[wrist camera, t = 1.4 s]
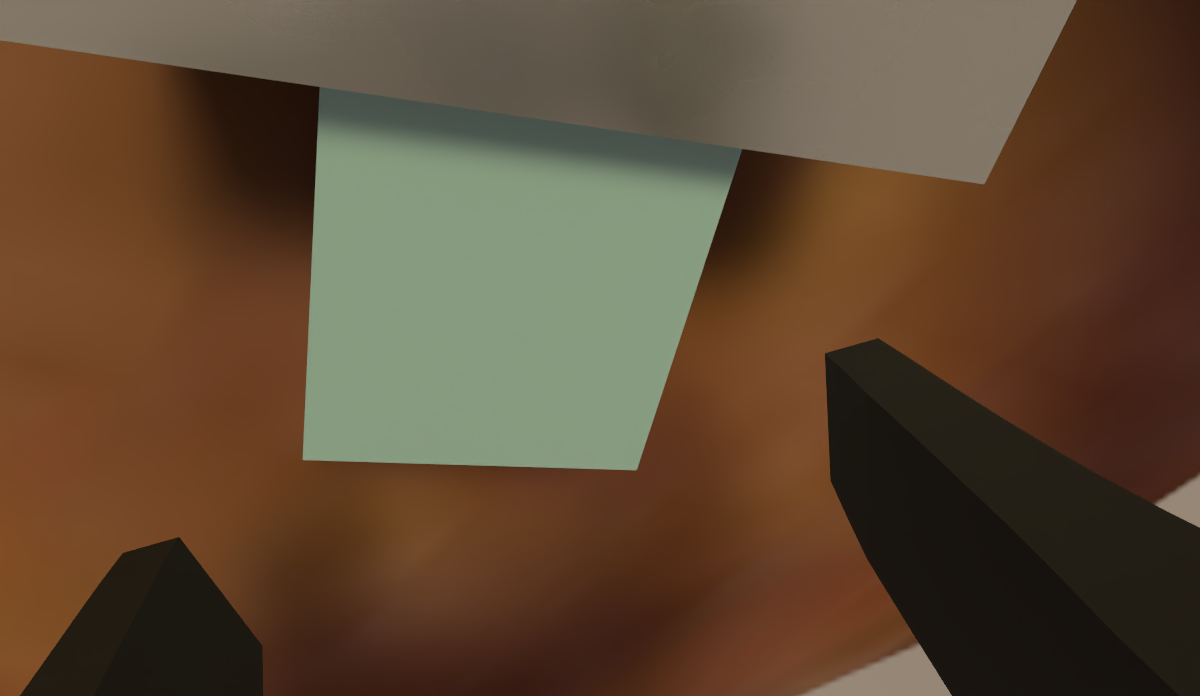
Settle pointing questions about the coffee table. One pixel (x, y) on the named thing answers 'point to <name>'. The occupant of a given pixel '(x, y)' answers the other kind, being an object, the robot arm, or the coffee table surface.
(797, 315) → the coffee table surface
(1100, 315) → the coffee table surface
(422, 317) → the end cover
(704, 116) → the housing
